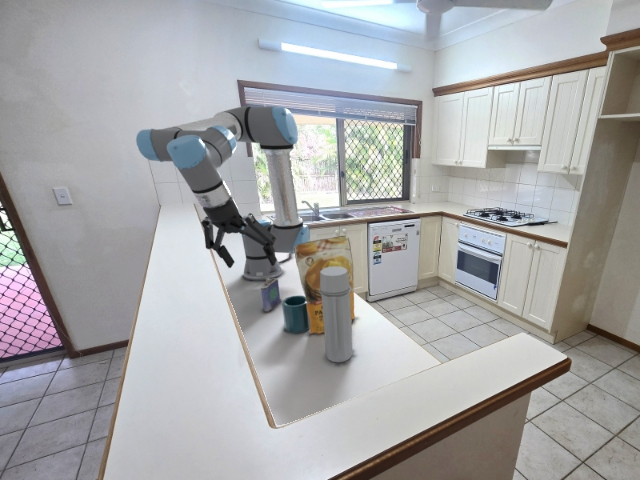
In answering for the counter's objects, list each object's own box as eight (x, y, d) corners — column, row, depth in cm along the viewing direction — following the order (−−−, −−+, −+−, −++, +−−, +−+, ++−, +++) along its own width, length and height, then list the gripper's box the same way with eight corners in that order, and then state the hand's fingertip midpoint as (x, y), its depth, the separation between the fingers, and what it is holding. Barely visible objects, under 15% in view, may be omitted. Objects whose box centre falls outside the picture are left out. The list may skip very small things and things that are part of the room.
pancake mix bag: (298, 329, 102) (288, 242, 91) (351, 312, 113) (348, 232, 102) (308, 339, 97) (298, 248, 86) (362, 320, 108) (360, 237, 97)
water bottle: (326, 348, 93) (320, 265, 83) (354, 347, 93) (351, 265, 84) (322, 369, 84) (314, 279, 74) (353, 368, 85) (349, 279, 75)
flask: (269, 312, 112) (264, 283, 107) (261, 311, 112) (256, 282, 108) (282, 300, 120) (278, 273, 116) (274, 300, 120) (270, 272, 116)
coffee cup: (286, 321, 106) (283, 296, 103) (311, 319, 108) (309, 294, 104) (284, 334, 99) (280, 307, 96) (310, 331, 101) (308, 305, 97)
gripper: (164, 213, 82) (208, 274, 97) (257, 205, 79) (288, 270, 94) (179, 197, 87) (219, 257, 102) (268, 190, 84) (296, 253, 99)
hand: (252, 263), depth 98 cm, fingers open, 13 cm apart
